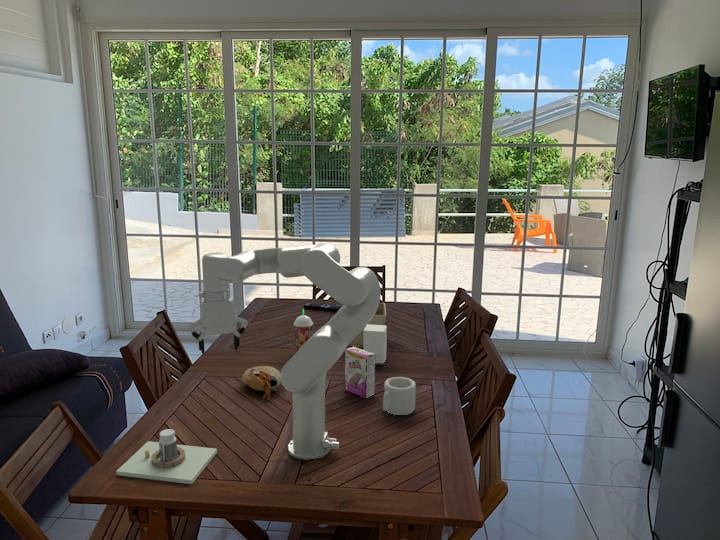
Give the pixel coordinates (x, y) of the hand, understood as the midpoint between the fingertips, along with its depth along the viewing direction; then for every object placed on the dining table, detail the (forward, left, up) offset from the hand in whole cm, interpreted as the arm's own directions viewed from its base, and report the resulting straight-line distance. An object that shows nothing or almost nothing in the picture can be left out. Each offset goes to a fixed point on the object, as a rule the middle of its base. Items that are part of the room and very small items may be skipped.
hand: (219, 350), depth 165 cm
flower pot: (-29, -92, -29) cm, 101 cm away
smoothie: (-5, -74, -28) cm, 79 cm away
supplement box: (-37, -71, -29) cm, 85 cm away
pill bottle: (+9, +17, -27) cm, 33 cm away
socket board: (+9, +17, -28) cm, 34 cm away
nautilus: (0, -34, -29) cm, 44 cm away
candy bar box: (-36, -39, -28) cm, 60 cm away
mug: (-51, -28, -29) cm, 65 cm away
